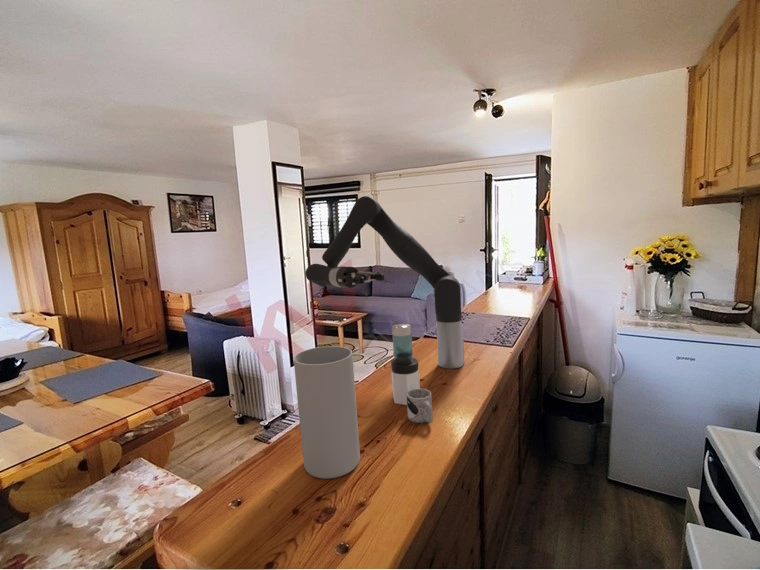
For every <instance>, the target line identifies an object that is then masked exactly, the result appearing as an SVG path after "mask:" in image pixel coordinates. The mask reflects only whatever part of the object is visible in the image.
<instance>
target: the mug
mask: <svg viewBox="0 0 760 570" xmlns="http://www.w3.org/2000/svg"><path fill="white" fill-rule="evenodd" d="M432 400H433V399H432V391H430V390H429V389H426V388H420V389H413V390H410V391H408V392H407V405H406V407H407V408H406V409H407V419H408V420H409V421H410V422H413V423H417V424H419V423H420V424H422V423H429V424H431V423H432V422H433V419H434V415H433V408H432V407H433V405H432V404H433V402H432Z"/></svg>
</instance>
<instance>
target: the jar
mask: <svg viewBox="0 0 760 570" xmlns="http://www.w3.org/2000/svg"><path fill="white" fill-rule="evenodd" d="M390 367H391V369H390V370H391V386H392V399H393V402H394V404H396V405H397V404H398V405H403V406H407V392H408V391H410V390H413V389H421V385H420V384H421V383H420V371H419V361H418V359H417V358H414V357H413V362H412V363H410V364H404V365H401V364H396V363H395V362H394V358H393V359H391V362H390Z"/></svg>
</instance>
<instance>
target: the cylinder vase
mask: <svg viewBox="0 0 760 570" xmlns="http://www.w3.org/2000/svg"><path fill="white" fill-rule="evenodd" d="M293 366H294V367H293V368H294V378H295V379H294V380H295V386H296V387H295V388H296V397H297V398H296V399H297V407H298V408H297V409H298V417H299V419H298V420H299V431H300V439H301V440H300V441H301V449H302V451H301V452H302V460H303V466H304V469H305V471H306V472H307V473H308V474H309V475H310V476H312V477H315V478H319V479H325V480H326V479H329V480H330V479H336V478H340V477H343V476H345V475H347V474H349V473H351V472H352V471H353V470H354V469H355V468H356V467H357V466H358V465H359V462H360V459H361V451H360V439H359V438H360V437H359V436H360V435H359V423H358V412H357V400H356V385H355V372H354V371H355V370H354V359H353V351H352V350H351V349H350V348H349V347H345V346H339V345H338V346H337V345H331V346H330V345H328V346H319V347H313V348H309V349H306V350H303V351H300V352H297V354H295V355H294V357H293Z"/></svg>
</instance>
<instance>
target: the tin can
mask: <svg viewBox="0 0 760 570" xmlns="http://www.w3.org/2000/svg"><path fill="white" fill-rule="evenodd" d="M391 327H392V328H391V330H392V333H391V334H392V349H393V350H392V351H393V359H394V362H395V363H396V364H401V365H404V364H410V363H412V362H413V358H414V355H413V354H414V353H413V335H412V325H411V324H409V323H399V324H394V325H391Z"/></svg>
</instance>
